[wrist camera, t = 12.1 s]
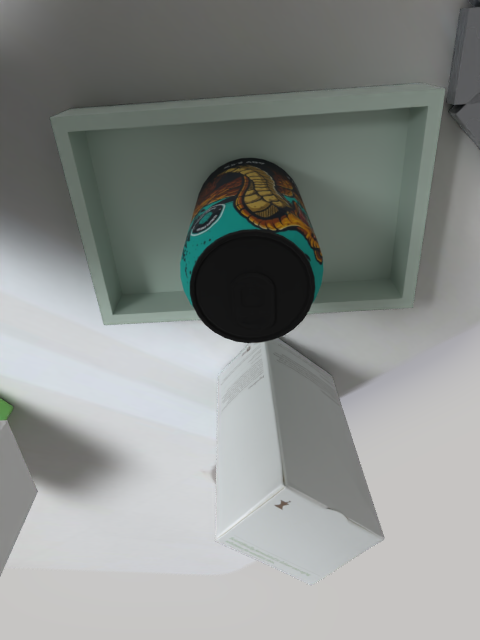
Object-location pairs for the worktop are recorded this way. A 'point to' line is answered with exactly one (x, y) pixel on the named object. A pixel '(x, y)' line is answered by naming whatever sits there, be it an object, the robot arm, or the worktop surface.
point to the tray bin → (263, 143)
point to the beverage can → (251, 253)
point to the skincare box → (288, 466)
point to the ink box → (5, 410)
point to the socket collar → (467, 73)
